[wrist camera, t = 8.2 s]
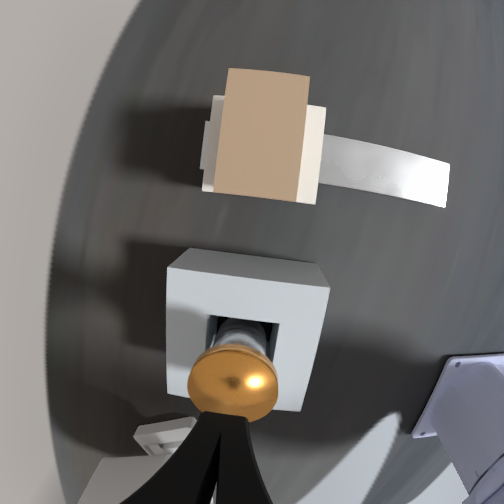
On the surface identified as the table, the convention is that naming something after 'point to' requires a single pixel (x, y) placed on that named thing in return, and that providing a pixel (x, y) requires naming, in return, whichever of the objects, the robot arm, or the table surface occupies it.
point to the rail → (377, 170)
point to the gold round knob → (235, 373)
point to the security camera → (136, 462)
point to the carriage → (264, 138)
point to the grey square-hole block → (245, 313)
